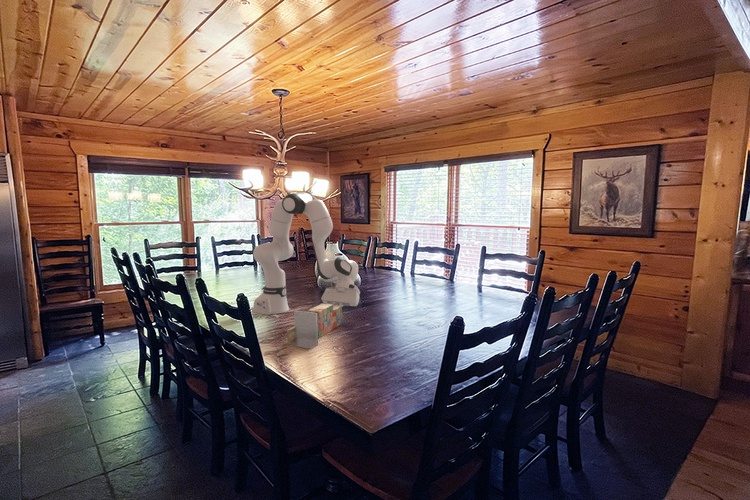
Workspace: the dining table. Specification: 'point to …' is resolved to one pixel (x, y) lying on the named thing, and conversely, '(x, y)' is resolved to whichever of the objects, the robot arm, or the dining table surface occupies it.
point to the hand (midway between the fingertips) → (335, 311)
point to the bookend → (305, 330)
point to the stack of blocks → (327, 317)
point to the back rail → (291, 335)
